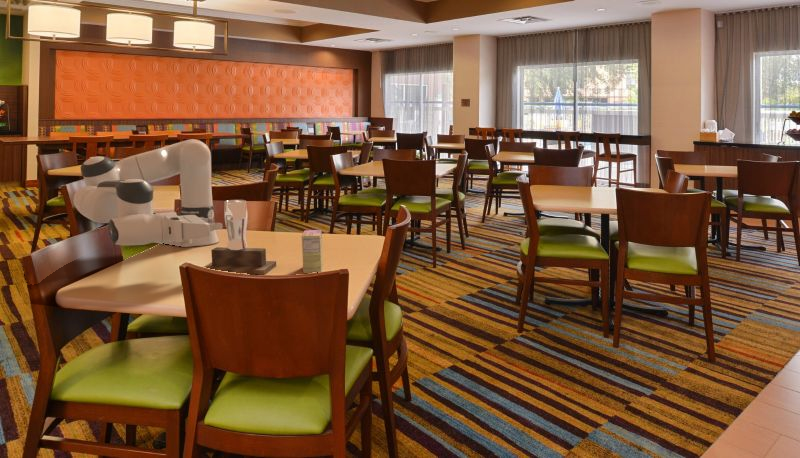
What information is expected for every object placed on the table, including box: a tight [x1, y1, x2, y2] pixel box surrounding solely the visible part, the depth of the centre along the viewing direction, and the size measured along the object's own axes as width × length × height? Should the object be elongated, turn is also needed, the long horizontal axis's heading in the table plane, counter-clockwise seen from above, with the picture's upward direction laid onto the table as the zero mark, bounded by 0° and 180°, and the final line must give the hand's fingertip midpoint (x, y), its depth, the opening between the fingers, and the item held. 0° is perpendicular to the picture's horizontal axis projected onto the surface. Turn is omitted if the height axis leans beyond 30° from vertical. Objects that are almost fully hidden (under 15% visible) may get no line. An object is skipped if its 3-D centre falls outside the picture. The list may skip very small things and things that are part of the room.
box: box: [301, 229, 324, 274], centre depth 192 cm, size 10×6×12 cm, turn 5°
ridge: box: [203, 246, 277, 276], centre depth 192 cm, size 20×12×6 cm, turn 84°
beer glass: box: [223, 199, 249, 251], centre depth 191 cm, size 7×7×15 cm
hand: (218, 223), depth 187 cm, fingers open, 8 cm apart
